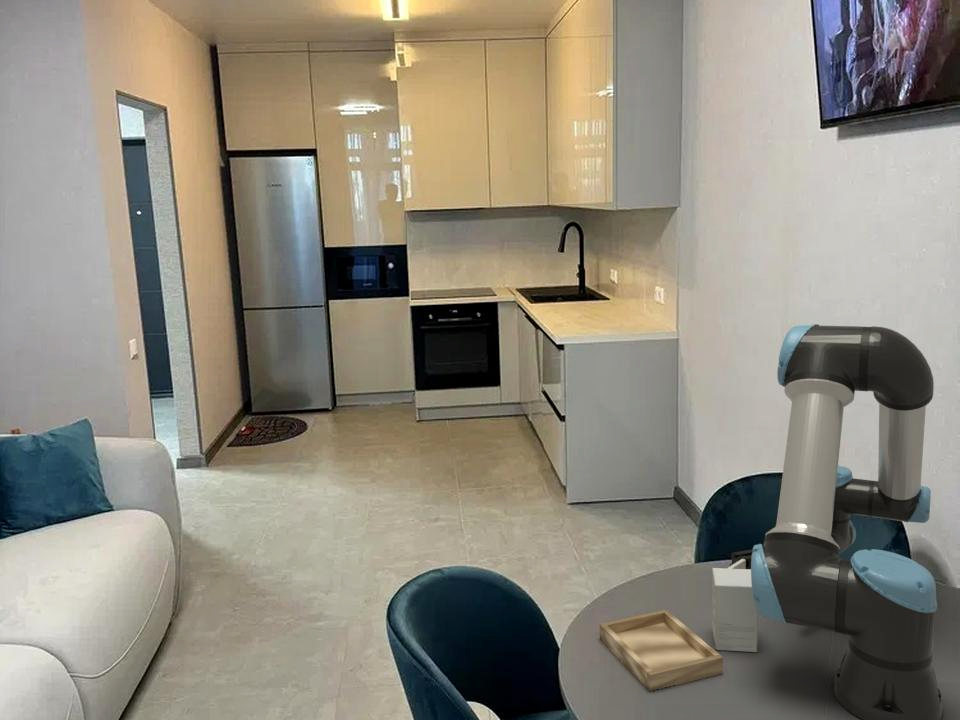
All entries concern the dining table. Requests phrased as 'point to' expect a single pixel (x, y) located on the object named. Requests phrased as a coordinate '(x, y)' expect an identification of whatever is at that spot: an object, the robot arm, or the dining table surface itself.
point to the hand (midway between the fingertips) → (759, 587)
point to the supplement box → (733, 610)
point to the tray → (660, 650)
